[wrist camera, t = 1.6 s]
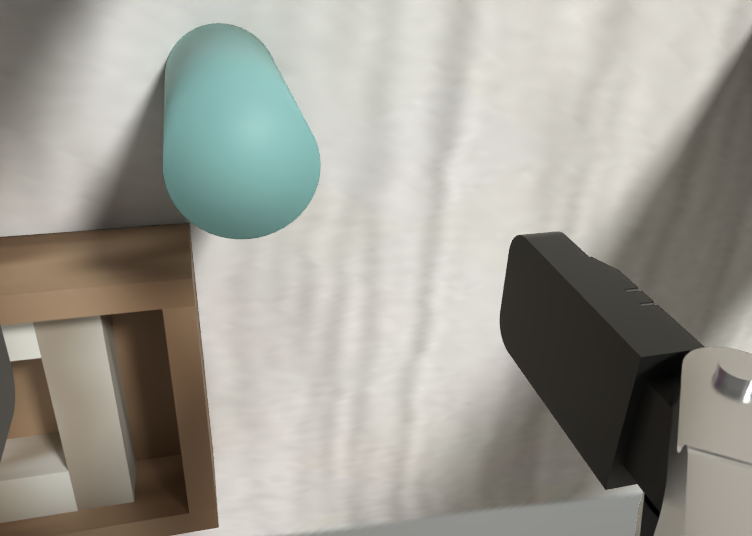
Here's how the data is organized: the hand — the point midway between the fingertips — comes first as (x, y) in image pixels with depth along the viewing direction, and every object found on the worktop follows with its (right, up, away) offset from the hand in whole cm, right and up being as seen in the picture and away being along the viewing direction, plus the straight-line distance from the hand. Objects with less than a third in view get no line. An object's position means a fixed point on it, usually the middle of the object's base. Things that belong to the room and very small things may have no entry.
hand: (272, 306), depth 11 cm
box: (-12, -3, +15) cm, 20 cm away
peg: (-3, +7, +12) cm, 14 cm away
